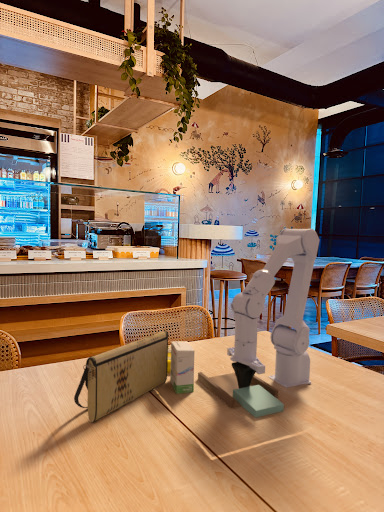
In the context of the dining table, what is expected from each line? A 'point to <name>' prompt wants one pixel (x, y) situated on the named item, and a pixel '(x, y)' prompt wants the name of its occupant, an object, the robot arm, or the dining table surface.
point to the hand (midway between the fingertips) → (243, 390)
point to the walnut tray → (231, 387)
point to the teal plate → (257, 400)
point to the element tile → (169, 359)
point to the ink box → (182, 367)
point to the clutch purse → (124, 374)
